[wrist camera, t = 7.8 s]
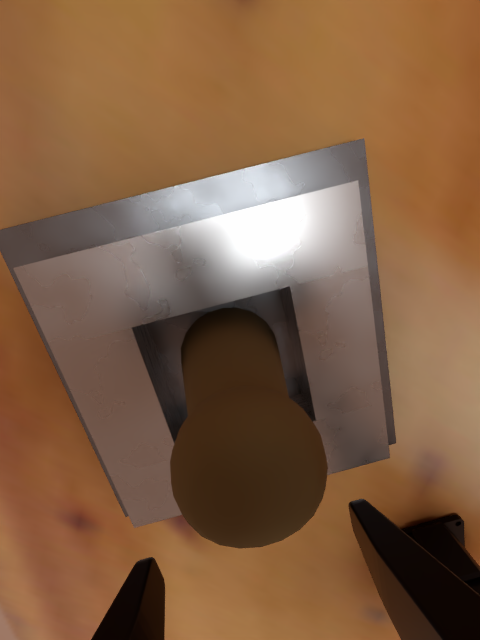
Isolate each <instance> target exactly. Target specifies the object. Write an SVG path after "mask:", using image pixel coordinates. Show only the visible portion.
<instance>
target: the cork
mask: <svg viewBox="0 0 480 640" xmlns="http://www.w3.org/2000/svg"><path fill="white" fill-rule="evenodd" d="M181 365H182V373H183V381H184V389H185V397H186V405H187V413H188V417H187V418H186V420H185V421H184V423H183V424H182V426H181V428H180V429H179V432H178V435H177V438H176V441H175V443H174V446H173V449H172V454H171V460H170V472H171V486H172V492H173V496H174V499H175V501H176V503H177V505H178V507H179V509H180V511H181V513H182V515H183V516H184V518H185V519H186V521H187V522H188V523H189V524H190V525H191V526H192V527H193V528H194V529H195V530H196V531H197V532H198V533H199V534H200V535H201V536H202V537H204V538H206V539H208V540H210V541H213V542H215V543H217V544H219V545H223V546H229V547H235V548H253V547H263V546H266V545H269V544H272V543H275V542H278V541H282V540H283V539H285V538H287V537H288V536H290V535H292V534H293V533H295V532H297V531H298V530H300V529H301V528H302V527H303V526H304V525H305V524H306V523H307V522H308V521H309V520H310V519H311V518H312V517H313V516H314V514H315V512H316V510H317V508H318V506H319V504H320V502H321V500H322V498H323V494H324V490H325V486H326V479H327V471H328V465H327V459H326V454H325V450H324V446H323V442H322V438H321V435H320V433H319V431H318V430H317V428H316V426H315V424H314V423H313V422H312V420H311V419H310V418H309V416H308V415H307V413H306V412H305V411H304V409H303V408H302V407H300V406H299V405H298V404H297V403H296V402H294V401H293V400H291V399H290V398H289V395H288V391H287V386H286V381H285V377H284V372H283V368H282V363H281V358H280V354H279V349H278V345H277V341H276V338H275V334H274V332H273V331H272V329H271V328H270V327H269V325H268V324H267V322H266V321H265V320H263V319H262V318H260V317H259V316H258V315H256V314H255V313H253V312H250V311H247V310H244V309H241V308H221V309H218V310H214V311H211V312H208V313H206V314H205V315H203V316H202V317H201V318H199V319H198V320H196V321H195V322H194V323H193V324H192V326H191V327H190V328H189V330H188V331H187V332H186V334H185V337H184V340H183V343H182V346H181Z"/></svg>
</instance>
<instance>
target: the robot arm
mask: <svg viewBox="0 0 480 640" xmlns="http://www.w3.org/2000/svg"><path fill="white" fill-rule="evenodd" d="M349 511H350V517H351V523H352V527H353V531H354V534H355V536H356V539H357V541H358V544H359V546H360V548H361V551H362V553H363V556H364V558H365V561H366V563H367V566H368V568H369V571H370V573H371V575H372V578H373V580H374V583H375V585H376V588H377V590H378V593H379V595H380V597H381V600H382V602H383V604H384V606H385V608H386V610H387V612H388V615H389V617H390V619H391V621H392V622H393V624H394V626H395V628H396V630H397V632H398V634H399V636H400V638H401V640H480V566H479V565H478V564H477V563H476V561H475V560H474V559H473V557H472V556H471V555H470V554H469V552H468V551H467V550H466V549H465V545H464V521H463V520H462V518H461V517H460V516H459V515H453V516H450V517H446V518H442V519H439V520H435V521H432V522H428V523H425V524H421V525H417V526H414V527H410V528H407V529H403V530H401V529H400V528H399V527H397V526H396V525H395V524H394V523H393V522H391V521H390V520H389V519H388V518H387V517H385V516H384V515H383V514H382V513H381V512H379V511H378V510H377V509H376V508H375V507H373V506H372V505H371V504H370V503H369V502H367V501H366V500H364V499H359V500H355V501H352V502H350V503H349ZM164 627H165V583H164V578H163V576H162V574H161V571H160V569H159V567H158V565H157V563H156V561H155V559H154V558H153V557H150V558H146V559H142V560H139V561H138V562H137V563H136V564H135V565H134V567H133V568H132V570H131V572H130V574H129V575H128V577H127V579H126V581H125V582H124V584H123V586H122V587H121V589H120V591H119V593H118V594H117V596H116V598H115V599H114V601H113V603H112V605H111V606H110V608H109V610H108V611H107V613H106V615H105V617H104V618H103V620H102V622H101V623H100V625H99V627H98V629H97V630H96V632H95V634H94V635H93V637H92V639H91V640H164Z"/></svg>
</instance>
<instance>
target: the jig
mask: <svg viewBox="0 0 480 640" xmlns="http://www.w3.org/2000/svg"><path fill="white" fill-rule="evenodd" d="M0 251H1V253H2V256H3V258H4V260H5V262H6V264H7V266H8V268H9V270H10V273H11V275H12V277H13V279H14V281H15V283H16V285H17V287H18V289H19V292H20V294H21V296H22V298H23V300H24V302H25V304H26V306H27V309H28V311H29V313H30V315H31V317H32V319H33V321H34V323H35V326H36V328H37V330H38V332H39V334H40V336H41V338H42V340H43V343H44V345H45V347H46V349H47V351H48V353H49V355H50V357H51V359H52V362H53V364H54V366H55V368H56V370H57V372H58V374H59V376H60V379H61V381H62V383H63V385H64V387H65V389H66V391H67V393H68V396H69V398H70V400H71V402H72V404H73V406H74V408H75V410H76V413H77V415H78V417H79V419H80V421H81V423H82V425H83V427H84V430H85V432H86V434H87V436H88V438H89V440H90V442H91V444H92V446H93V449H94V451H95V453H96V455H97V457H98V459H99V461H100V463H101V466H102V468H103V470H104V472H105V474H106V476H107V478H108V480H109V483H110V485H111V487H112V489H113V491H114V493H115V495H116V497H117V500H118V502H119V504H120V506H121V508H122V510H123V512H124V514H125V516H126V517H127V516H129V518H130V520H131V522H132V524H133V526H134V528H135V527H139V526H143V525H146V524H150V523H154V522H157V521H161V520H165V519H168V518H172V517H176V516H179V515H182V513H181V511H180V509H179V507H178V505H177V503H176V501H175V499H174V496H173V492H172V486H171V472H170V460H171V454H172V449H173V446H174V443H175V441H176V438H177V435H178V432H179V429H180V428H181V426H182V424H183V423H184V421H185V420H186V418H187V417H188V413H187V405H186V397H185V389H184V381H183V373H182V365H181V346H182V343H183V340H184V337H185V334H186V332H187V331H188V330H189V328H190V327H191V326H192V324H193V323H194V322H195V321H196V320H198V319H199V318H201V317H202V316H203V315H205V314H206V313H208V312H211V311H214V310H218V309H221V308H241V309H244V310H247V311H250V312H253V313H255V314H256V315H258V316H259V317H260V318H262V319H263V320H265V321H266V322H267V324H268V325H269V327H270V328H271V329H272V331H273V332H274V334H275V338H276V341H277V345H278V349H279V354H280V358H281V363H282V368H283V372H284V377H285V381H286V386H287V391H288V395H289V398H290V399H291V400H293V401H294V402H296V403H297V404H298V405H299V406H300V407H302V408H303V409H304V411H305V412H306V413H307V415H308V416H309V418H310V419H311V420H312V422H313V423H314V424H315V426H316V428H317V430H318V431H319V433H320V435H321V438H322V442H323V446H324V450H325V454H326V459H327V465H328V471H327V475H329V474H333V473H336V472H340V471H344V470H347V469H351V468H355V467H358V466H362V465H365V464H369V463H373V462H376V461H380V460H384V459H387V458H390V454H389V446H388V445H391V444H395V443H396V437H395V427H394V418H393V408H392V399H391V389H390V380H389V370H388V361H387V351H386V341H385V332H384V322H383V313H382V303H381V294H380V284H379V275H378V265H377V256H376V246H375V236H374V227H373V217H372V208H371V198H370V189H369V179H368V170H367V160H366V151H365V141H364V139H360V140H356V141H352V142H348V143H344V144H340V145H336V146H332V147H328V148H324V149H320V150H316V151H312V152H308V153H304V154H300V155H296V156H292V157H288V158H284V159H280V160H276V161H272V162H268V163H264V164H260V165H256V166H252V167H248V168H244V169H241V170H237V171H233V172H229V173H225V174H221V175H217V176H213V177H209V178H205V179H201V180H197V181H193V182H189V183H185V184H181V185H177V186H173V187H169V188H165V189H161V190H157V191H153V192H149V193H145V194H141V195H137V196H133V197H129V198H125V199H121V200H117V201H113V202H109V203H105V204H101V205H97V206H93V207H89V208H85V209H81V210H78V211H74V212H70V213H66V214H62V215H58V216H54V217H50V218H46V219H42V220H38V221H34V222H30V223H26V224H22V225H18V226H14V227H10V228H6V229H2V230H0Z"/></svg>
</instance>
